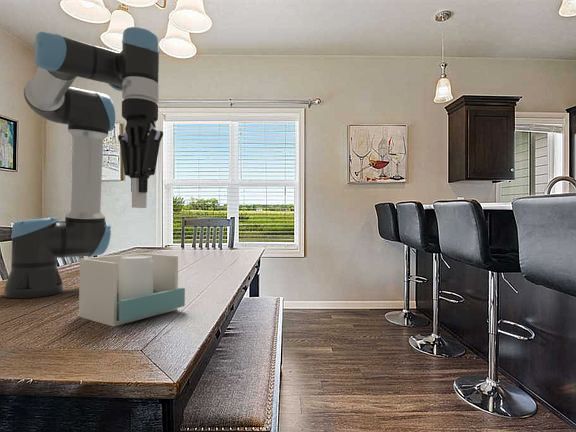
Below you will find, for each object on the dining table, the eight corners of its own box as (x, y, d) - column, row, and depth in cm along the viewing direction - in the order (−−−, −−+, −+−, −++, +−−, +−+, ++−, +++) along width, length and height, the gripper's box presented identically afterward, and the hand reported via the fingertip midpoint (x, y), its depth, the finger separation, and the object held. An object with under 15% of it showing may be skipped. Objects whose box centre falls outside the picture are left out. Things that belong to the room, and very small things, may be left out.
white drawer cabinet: (79, 316, 89) (79, 258, 89) (143, 302, 104) (144, 252, 104) (113, 326, 82) (114, 263, 82) (177, 309, 97) (178, 256, 97)
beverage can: (159, 301, 96) (159, 255, 96) (141, 309, 88) (141, 259, 88) (131, 300, 98) (132, 254, 98) (111, 307, 90) (111, 258, 90)
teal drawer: (86, 312, 88) (86, 293, 88) (149, 298, 103) (149, 282, 103) (122, 322, 80) (122, 301, 80) (184, 305, 95) (184, 288, 95)
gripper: (107, 101, 83) (106, 207, 83) (144, 92, 76) (143, 207, 76) (136, 110, 89) (135, 208, 89) (173, 101, 82) (172, 208, 82)
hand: (139, 207), depth 82 cm, fingers closed
